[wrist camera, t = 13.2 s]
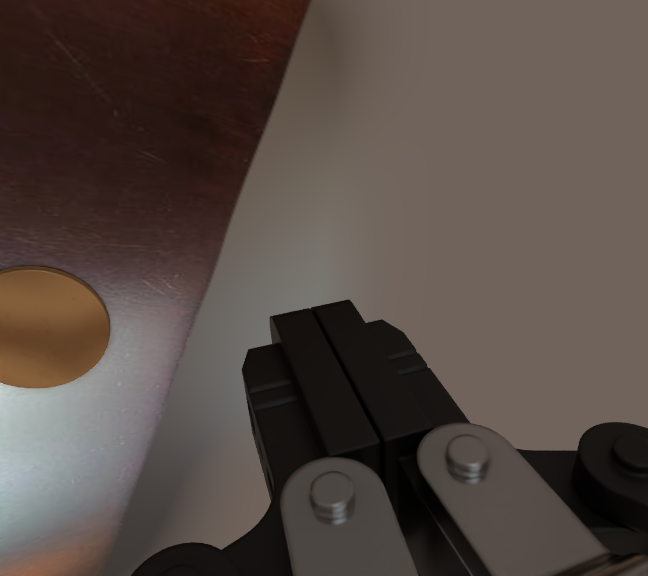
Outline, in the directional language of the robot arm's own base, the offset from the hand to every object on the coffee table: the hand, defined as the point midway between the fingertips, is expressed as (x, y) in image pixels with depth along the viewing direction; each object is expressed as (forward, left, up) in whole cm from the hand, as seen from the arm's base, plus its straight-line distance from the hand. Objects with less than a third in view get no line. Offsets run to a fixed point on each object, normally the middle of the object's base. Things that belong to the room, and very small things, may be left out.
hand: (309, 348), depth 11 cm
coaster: (+14, -12, -27) cm, 33 cm away
